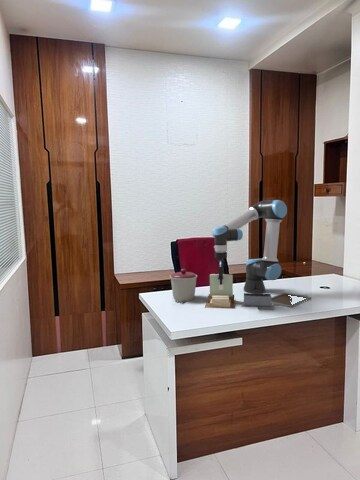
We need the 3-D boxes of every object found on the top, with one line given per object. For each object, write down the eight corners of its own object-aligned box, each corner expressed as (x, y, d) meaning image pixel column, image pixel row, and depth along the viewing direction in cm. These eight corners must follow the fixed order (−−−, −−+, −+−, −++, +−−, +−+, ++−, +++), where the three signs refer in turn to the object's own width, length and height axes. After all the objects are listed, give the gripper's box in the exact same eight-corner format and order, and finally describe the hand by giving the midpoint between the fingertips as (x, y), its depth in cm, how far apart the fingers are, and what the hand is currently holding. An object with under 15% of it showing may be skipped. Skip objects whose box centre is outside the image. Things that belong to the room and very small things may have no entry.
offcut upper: (212, 299, 218) (212, 295, 218) (228, 299, 217) (228, 295, 217) (212, 302, 211) (212, 298, 211) (229, 302, 210) (229, 298, 210)
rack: (207, 301, 229) (207, 292, 229) (235, 301, 226) (235, 293, 226) (204, 310, 210) (204, 301, 209) (235, 311, 207) (235, 302, 206)
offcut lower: (211, 303, 219) (211, 299, 219) (230, 303, 217) (230, 299, 217) (209, 306, 211) (209, 302, 211) (230, 307, 209) (230, 303, 209)
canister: (200, 297, 239) (199, 266, 236) (194, 305, 221) (193, 271, 219) (174, 296, 243) (174, 266, 241) (166, 303, 226) (165, 270, 224)
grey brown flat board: (311, 297, 231) (289, 307, 210) (311, 299, 231) (289, 309, 210) (284, 292, 244) (260, 301, 223) (284, 294, 244) (260, 303, 223)
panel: (210, 299, 224) (210, 274, 223) (232, 299, 222) (232, 274, 220) (210, 300, 222) (209, 274, 220) (232, 300, 219) (232, 275, 218)
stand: (242, 304, 221) (242, 292, 220) (271, 305, 217) (272, 293, 217) (242, 308, 211) (242, 296, 210) (273, 310, 208) (273, 297, 207)
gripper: (215, 249, 227) (216, 285, 229) (213, 253, 212) (214, 291, 214) (227, 249, 226) (227, 286, 228) (226, 253, 211) (226, 292, 213)
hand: (221, 288), depth 221 cm, fingers closed on panel, 2 cm apart
